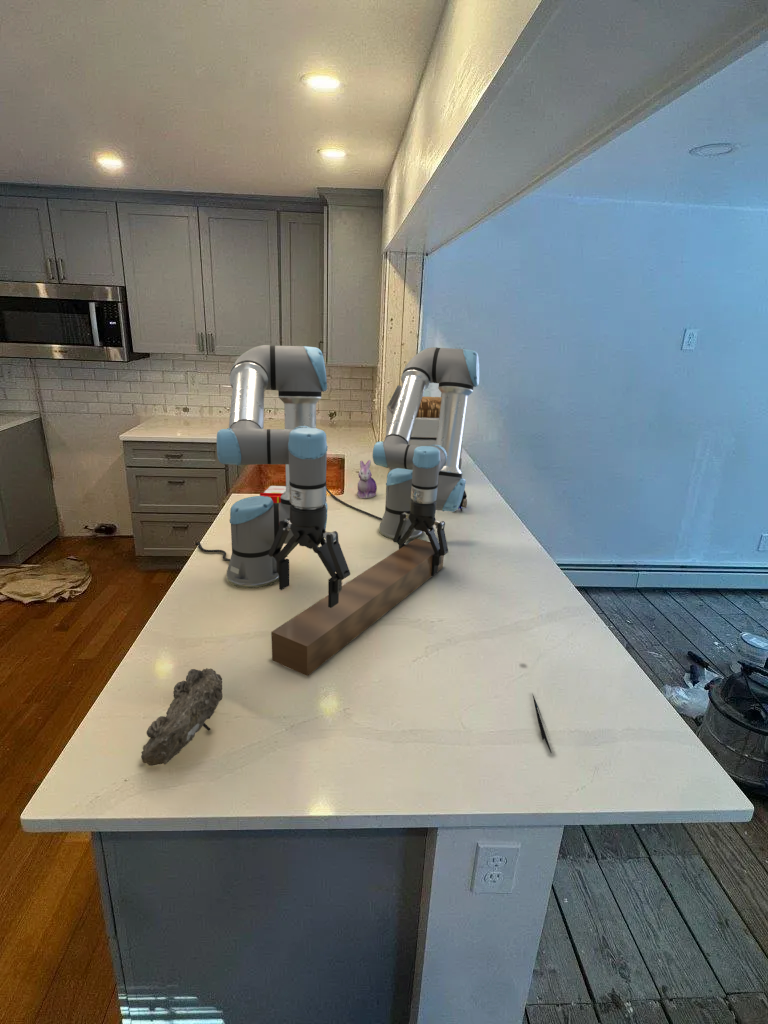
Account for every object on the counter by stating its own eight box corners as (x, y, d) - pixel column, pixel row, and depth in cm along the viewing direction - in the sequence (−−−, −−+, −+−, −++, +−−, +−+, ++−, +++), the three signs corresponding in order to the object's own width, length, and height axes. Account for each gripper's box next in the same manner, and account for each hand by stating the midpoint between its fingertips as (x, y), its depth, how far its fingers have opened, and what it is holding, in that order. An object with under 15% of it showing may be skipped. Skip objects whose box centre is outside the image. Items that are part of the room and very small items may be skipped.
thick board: (414, 559, 180) (415, 538, 177) (442, 567, 175) (444, 545, 173) (272, 660, 126) (271, 631, 123) (307, 676, 121) (307, 646, 119)
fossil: (171, 669, 114) (224, 637, 109) (205, 700, 117) (257, 670, 112) (115, 759, 95) (175, 724, 90) (157, 793, 97) (218, 762, 92)
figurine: (361, 500, 232) (362, 464, 227) (351, 492, 241) (352, 458, 236) (382, 497, 237) (383, 462, 232) (371, 490, 245) (372, 456, 240)
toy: (300, 481, 221) (289, 494, 192) (300, 514, 224) (289, 533, 194) (268, 480, 221) (253, 493, 191) (269, 514, 223) (254, 532, 194)
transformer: (382, 463, 289) (386, 382, 275) (445, 464, 293) (451, 384, 279) (390, 482, 257) (394, 392, 243) (460, 483, 261) (468, 394, 247)
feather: (523, 669, 129) (529, 663, 128) (551, 758, 102) (558, 750, 101) (517, 665, 128) (523, 659, 128) (543, 753, 102) (550, 746, 101)
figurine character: (467, 516, 223) (461, 500, 237) (469, 499, 220) (463, 483, 233) (450, 516, 223) (446, 499, 236) (452, 498, 220) (447, 483, 233)
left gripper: (250, 496, 120) (253, 586, 127) (347, 522, 108) (345, 620, 115) (274, 488, 126) (276, 574, 133) (368, 512, 114) (365, 605, 121)
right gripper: (383, 495, 167) (380, 564, 174) (453, 511, 156) (446, 584, 163) (396, 489, 173) (392, 556, 180) (464, 504, 162) (457, 575, 170)
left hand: (308, 596), depth 124 cm, fingers open, 13 cm apart
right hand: (418, 569), depth 172 cm, fingers closed on thick board, 10 cm apart
